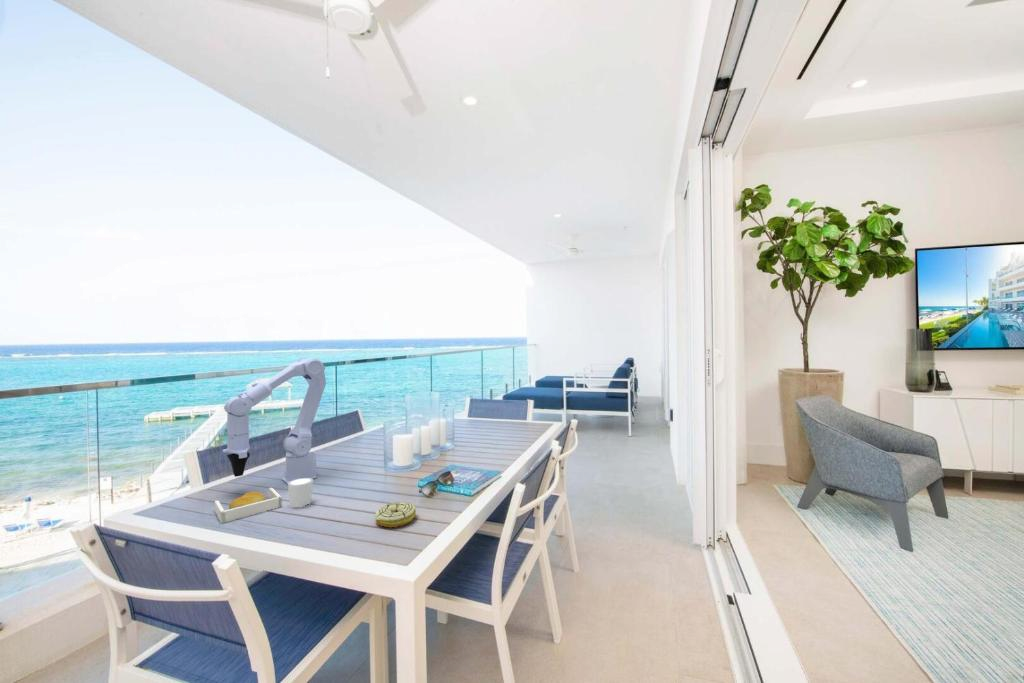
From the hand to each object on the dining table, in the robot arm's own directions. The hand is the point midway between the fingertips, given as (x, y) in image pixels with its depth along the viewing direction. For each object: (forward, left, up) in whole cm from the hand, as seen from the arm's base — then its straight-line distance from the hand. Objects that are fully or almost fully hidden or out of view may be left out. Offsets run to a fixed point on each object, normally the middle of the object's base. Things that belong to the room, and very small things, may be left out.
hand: (238, 475), depth 124 cm
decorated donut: (-27, +53, -7) cm, 60 cm away
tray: (0, +15, -6) cm, 16 cm away
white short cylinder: (-12, +22, -7) cm, 26 cm away
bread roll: (0, +13, -7) cm, 15 cm away
